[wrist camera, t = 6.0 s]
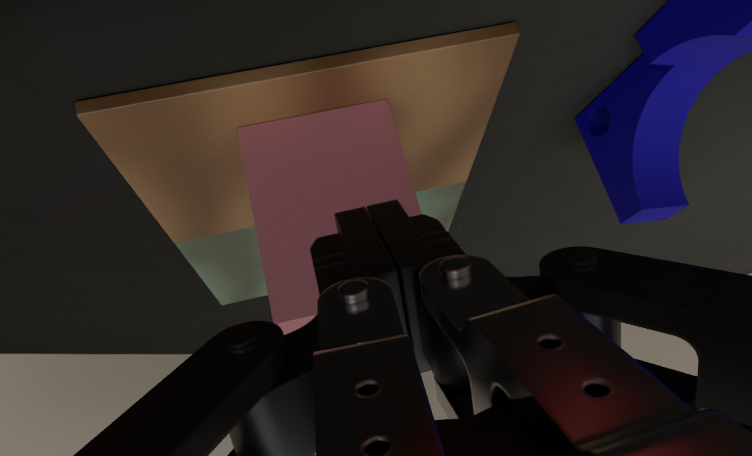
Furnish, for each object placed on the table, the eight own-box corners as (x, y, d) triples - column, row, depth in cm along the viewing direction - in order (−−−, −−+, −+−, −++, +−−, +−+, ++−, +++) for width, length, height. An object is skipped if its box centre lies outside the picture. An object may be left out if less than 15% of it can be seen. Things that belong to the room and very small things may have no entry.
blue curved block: (758, -89, 20) (853, 52, 18) (838, -73, 22) (933, 57, 20) (551, 119, 30) (596, 226, 28) (618, 118, 32) (665, 219, 30)
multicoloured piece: (220, 297, 43) (221, 305, 43) (74, 100, 21) (75, 115, 20) (437, 248, 45) (439, 256, 45) (515, 20, 23) (521, 33, 22)
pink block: (259, 194, 29) (291, 358, 26) (236, 126, 23) (273, 325, 20) (381, 169, 30) (425, 326, 27) (387, 97, 24) (443, 285, 21)
